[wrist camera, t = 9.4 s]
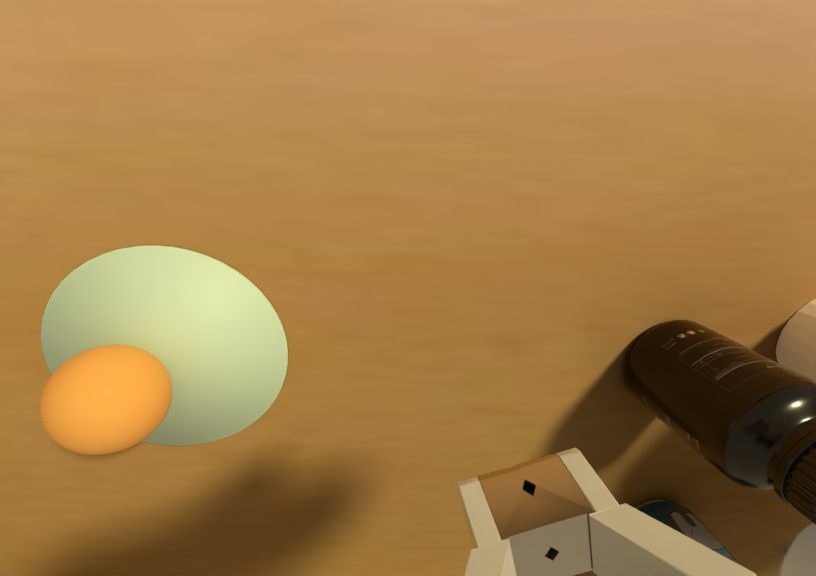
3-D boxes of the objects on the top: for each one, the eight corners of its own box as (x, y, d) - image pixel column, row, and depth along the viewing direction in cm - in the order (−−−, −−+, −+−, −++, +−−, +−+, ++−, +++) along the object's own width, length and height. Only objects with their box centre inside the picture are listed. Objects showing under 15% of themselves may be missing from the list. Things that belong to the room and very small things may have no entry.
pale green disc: (120, 193, 20) (118, 194, 20) (331, 332, 24) (331, 334, 24) (-1, 376, 22) (-4, 378, 22) (212, 473, 27) (211, 476, 26)
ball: (131, 307, 21) (8, 370, 17) (207, 377, 22) (108, 458, 17) (112, 354, 24) (5, 419, 20) (180, 416, 25) (90, 492, 20)
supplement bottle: (704, 384, 30) (910, 526, 19) (620, 408, 30) (782, 567, 19) (710, 304, 28) (953, 415, 17) (619, 329, 27) (805, 460, 16)
